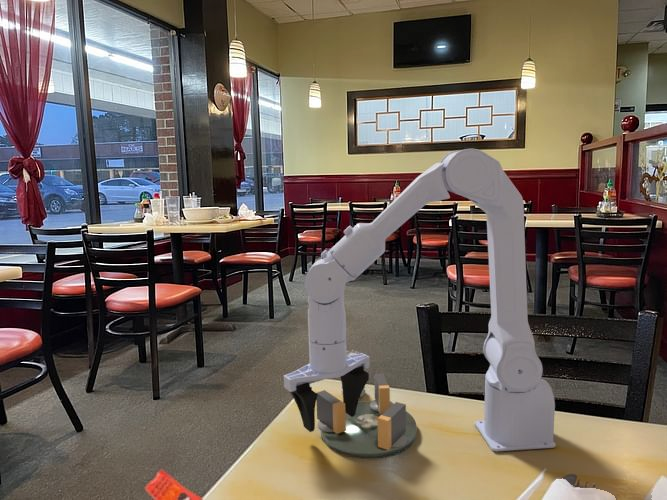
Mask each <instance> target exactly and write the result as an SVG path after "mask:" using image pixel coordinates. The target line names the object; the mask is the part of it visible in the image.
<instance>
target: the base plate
mask: <svg viewBox="0 0 667 500" xmlns="http://www.w3.org/2000/svg"><path fill="white" fill-rule="evenodd" d="M371 402H372V401H358V405H357V409H356V413H355V416H353V417H351V416H350V415H348V414H347V413H345V415H346V431H344V432H341V433H338V434H336V433H335V432H324V431H321V430H320V435H321V438H322V441H323V443H324V444H325V445H326V446H327V447H329V448H330V449H331V450H333V451H335V452H336V453H338V454H342V455H344V456H348V457H350V458H351V457H352V458H355V459H356V458H357V459H368V460H370V459H382V458H383V459H384V458H389V457H392V456H394V455H395V456H396V455H398V454H401V453H402V452H404V451H406V450H407V449H409V448H410V447H411V446H412V445H413V443H414V442H415V441H416V438H417V423H416V420H415V418H414V417H413V415H412V414H411V413H409V411H406V432H405V433H404V435H405V436H406V437H407V442H406V444H405V445H404V446H401V447H397V448H390V449H389V450H386V449H383V448H380V447H378V417H379V416H380V415H382V414H380V413H379V412H376V411H374V410H372V409H371V408H370V403H371Z"/></svg>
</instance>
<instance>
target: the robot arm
mask: <svg viewBox="0 0 667 500" xmlns="http://www.w3.org/2000/svg"><path fill="white" fill-rule="evenodd" d="M449 192H451V193H452V194H455V195H457V196H458V195H459V196H462V197H463V198H465V199H468V200H469V201H470V202H471V203H472V204H474V205H475V206H477V207H478V208H479V209H480V210H482V211H483V212H484V213H485V215H486V232H487V233H486V234H487V236H486V237H487V252H488V253H487V254H488V272H489V273H488V274H489V275H488V276H489V295H490V314H491V315H490V318H489V321H488V333H487V336H486V338H485V340H484V343H483V347H482V348H483V349H482V350H483V356H484V357H485V359H486V360H487V361H488V363H489V367H488V370H487V371H486V373H485V378H484V379H485V380H484V381H485V382H484V409H483V410H484V412H483V413H484V414H483V415H484V419H483V420H476V421H474V426H475V427H476V429H477V430H478V431H479V433H480V434H481V436H482V437H483V439H484V440H485V442H486V443H487V445H488V446H489V448H490V449H491V451H493V452H505V451H506V452H507V451H508V452H509V451H519V450H520V451H521V450H536V449H537V450H538V449H539V450H540V449H552V448H556V446H557V445H556V443H555V441H554V435H555V434H554V431H555V413H556V412H555V410H556V409H555V408H556V401H555V395H554V392H553V389H552V387H551V386H550V384H549V382H548V381H547V380H545V379H544V378H542V377H543V370H544V369H543V363H542V361H541V360H540V358H539V356H538V355H537V353H536V347H535V345H536V344H535V338H534V336H533V333H532V330H531V327H530V324H529V321H528V317H529V316H528V297H527V296H528V295H527V265H526V263H527V261H526V237H525V211H524V207H525V206H524V199H523V196H522V194H521V193H520V192H519V190H518V188H516V186H515V185H514V183H513V182H512V180H511V179H510V178H509V177H508V175H507V173H506V172H505V171H504V170H503V167H502V164H501V163H500V161H499V160H498V159H496V158H494V157H493V156H491V155H489V154H488V153H486V152H485V151H483V150H481V149H477V148H464V149H457V150H453V151H450V152H449V153H447V154H446V155H445V156H444V157H442V159H441V160H440V162H436V163H434V164H433V165H431V166H430V167H429V168H427V169H426V170H425V171H424V172H422V173H421V174H420V175H418V176H417V177H415V179H414V180H413V181H411V183H410V184H409V185H407V187H406V188H405V189H403V191H402V192H400V193H399V195H398V196H397V197H396V198H395V199H394V200H392V201H391V203H390V204H389V205H388V206H387V207H386V208H385V209H383V210H382V212H381V213H380V214H378V216H377V217H375V219H374V220H372V222H370V223H368V222H367V223H366V222H359V223H356V225H354V226H351V225H349V226H347V227H346V229H344V230H343V234H344V235H343V237H342V238H341V239H340V240H339V241H338V242H336V243H335V245H333V246H332V247H331V248H330V249H329V250H327V249H324V250H323V251H322V252H321V254H320V257H321V258H320V259H318V260H316V261H315V262H314V263H313V264H312V265H311V267H310V268H309V270H308V271H307V273H306V275H305V279H304V289H305V292H306V295H307V296H308V297H307V304H308V309H307V328H308V353H309V359H308V360H309V363H308V364H306V365H303V366H302V367H299V368H298V369H296V370H294V371H292V372H290V373H287V374H283V387H284V389H286V391H289V394H291V395H290V396H292V398H293V400H294V402H295V403H296V406H297V409H298V410H299V411H298V412H299V413H300V417H301V420H302V425H303V427H304V428H305V429H306V431H308V432H309V433H312V432H315V427H316V417H315V416H316V415H315V411H316V405H317V401H316V399H317V395H318V394H317V392H315V391H314V390H313V389H312V388H313V387H312V386H311V385H312V384H314V383H317V382H318V383H319V382H320V381H324V380H331V379H337V378H340V381H341V389H342V388H343V389H342V390H343V394H342V402H344V403H345V413H347V414H348V415H350V416H351V417H353V416H355V413H356V409H357V405H358V402H360V395H361V392H362V390H363V388H364V386H365V387H366V384H367V383H368V382H369V380H370V373H369V372H367V371H366V370H367V369H370V366H371V365H370V356H369V355H367V354H365V353H363V352H359V354H356V355H348V356H347V351H348V349H347V317H346V316H347V315H346V314H347V311H346V307H345V303H344V302H345V300H344V298H345V297H344V296H345V295H344V293H345V289H346V283H349V282H352V281H355V280H356V279H357V278H358V277H359V276H360V275H361V274H362V273H364V271H366V270H367V269H368V268H369V267H371V265H372V264H374V262H375V261H377V260H378V258H380V257H381V256H382V255H383V254H384V253H385V252H386V239H387V238H388V237H390V236H391V235H392V234H393V233H394V232H396V230H398V229H400V227H402V226H403V225H404V224H405V223H406V222H407V221H408V220H409V219H411V218H412V217H413V216H414V215H415V214H417V212H420V210H421V209H422V208H423V207H425V206H426V205H427V204H429V203H435V202H438V201H443V200H448V199H450V198H451V196H450V193H449Z"/></svg>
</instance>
